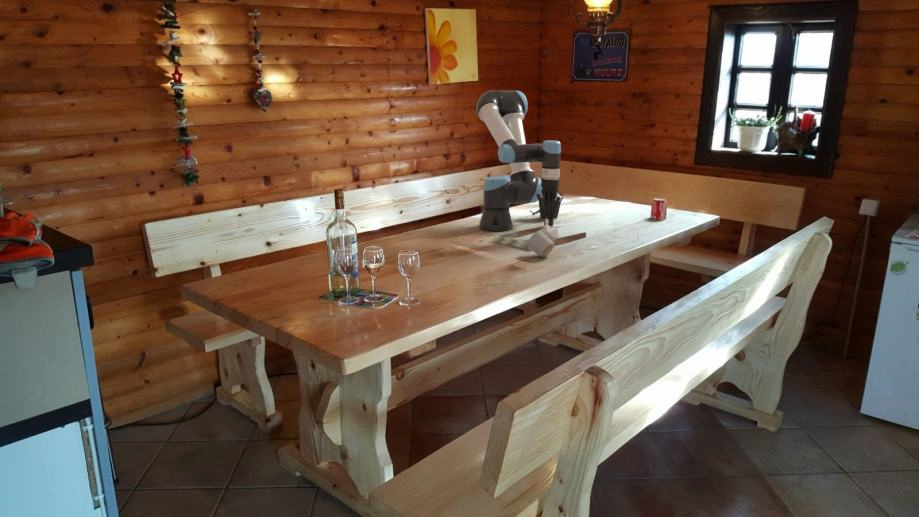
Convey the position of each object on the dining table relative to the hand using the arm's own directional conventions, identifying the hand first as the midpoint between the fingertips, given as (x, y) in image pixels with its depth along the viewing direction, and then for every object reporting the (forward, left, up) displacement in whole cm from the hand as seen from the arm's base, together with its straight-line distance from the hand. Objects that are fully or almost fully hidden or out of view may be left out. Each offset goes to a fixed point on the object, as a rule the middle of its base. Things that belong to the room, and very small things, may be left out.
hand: (548, 234), depth 285 cm
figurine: (-24, +26, -2) cm, 35 cm away
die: (+2, -2, -2) cm, 4 cm away
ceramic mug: (+18, -26, -2) cm, 32 cm away
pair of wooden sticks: (0, -3, -2) cm, 3 cm away
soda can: (+14, +64, -2) cm, 66 cm away
